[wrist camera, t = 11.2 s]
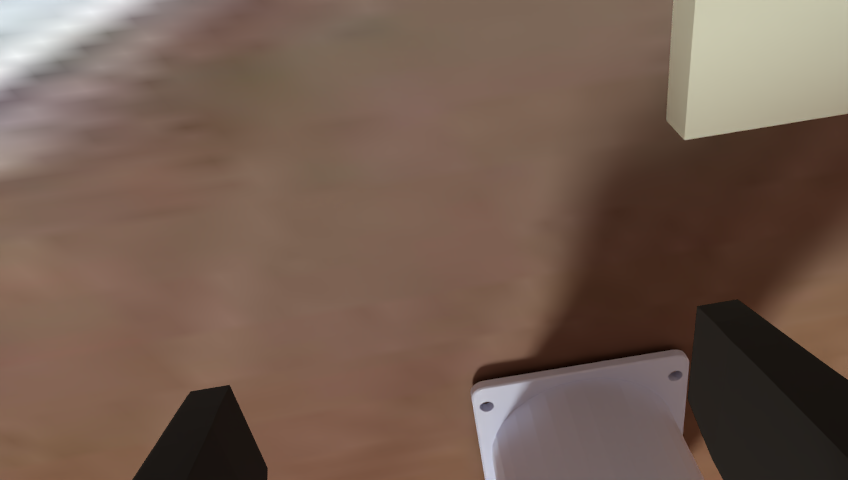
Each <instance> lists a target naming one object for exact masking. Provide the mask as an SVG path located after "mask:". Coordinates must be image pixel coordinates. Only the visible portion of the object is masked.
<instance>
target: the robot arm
mask: <svg viewBox="0 0 848 480" xmlns="http://www.w3.org/2000/svg"><path fill="white" fill-rule="evenodd" d="M674 371H675V372H674ZM672 372H674V373H672ZM688 372H689V359H688V358H687V356H686V354H685V353H684V352H683V351H681V350H668V351H662V352H656V353H650V354H643V355H637V356H631V357H625V358H619V359H613V360H607V361H601V362H595V363H588V364H582V365H576V366H570V367H564V368H558V369H552V370H546V371H540V372H534V373H527V374H521V375H515V376H509V377H503V378H497V379H491V380H485V381H480V382H478V383H476V384H475V385H473V387H472V388H471V397H472V403H473V409H474V415H475V422H476V428H477V434H478V440H479V446H480V452H481V458H482V464H483V470H484V476H485V480H704V478H703V476H702V474H701V472H700V470H699V468H698V466H697V464H696V462H695V460H694V458H693V456H692V454H691V452H690V450H689V448H688V446H687V444H686V442H685V439H684V437H683V428H684V417H685V406H686V394H687V383H688ZM688 401H689V403H690V406H691V408H692V411H693V413H694V416H695V418H696V421H697V423H698V426H699V429H700V431H701V434H702V436H703V438H704V441H705V443H706V445H707V448H708V450H709V453H710V455H711V457H712V460H713V462H714V463H715V465H716V467H717V469H718V471H719V473H720V475H721V476H722V478H723V480H848V380H847V379H846V378H844V377H843V376H842V375H840V374H839V373H837V372H836V371H835V370H833V369H832V368H830V367H829V366H828V365H826V364H825V363H823V362H822V361H821V360H819V359H818V358H817V357H815V356H814V355H812V354H811V353H810V352H808V351H807V350H806V349H804V348H803V347H801V346H800V345H799V344H797V343H796V342H795V341H793V340H792V339H791V338H789V337H788V336H787V335H785V334H784V333H782V332H781V331H780V330H778V329H777V328H776V327H774V326H773V325H772V324H770V323H769V322H768V321H766V320H765V319H764V318H762V317H761V316H760V315H758V314H757V313H756V312H754V311H753V310H751V309H750V308H749V307H747V306H746V305H745V304H743V303H742V302H740V301H739V300H738V299H737V300H731V301H725V302H719V303H713V304H708V305H702V306H697V313H696V323H695V333H694V342H693V352H692V362H691V371H690V381H689V391H688ZM484 402H489V403H486V404H482V403H484ZM132 480H267V466H266V464H265V462H264V459H263V457H262V455H261V453H260V451H259V448H258V446H257V444H256V442H255V440H254V438H253V435H252V433H251V431H250V429H249V427H248V424H247V422H246V420H245V418H244V416H243V413H242V411H241V409H240V407H239V405H238V403H237V400H236V398H235V396H234V394H233V392H232V389H231V387H230V385H227V386H221V387H215V388H209V389H203V390H197V391H191V392H190V393H189V395H188V396H187V397H186V399H185V400H184V402H183V403H182V405H181V406H180V408H179V409H178V411H177V412H176V414H175V415H174V417H173V418H172V420H171V422H170V423H169V425H168V426H167V428H166V429H165V431H164V432H163V434H162V435H161V437H160V438H159V440H158V442H157V443H156V445H155V446H154V448H153V449H152V451H151V452H150V454H149V455H148V457H147V458H146V460H145V461H144V463H143V464H142V466H141V467H140V469H139V471H138V472H137V474H136V475H135V477H134V478H133V479H132Z"/></svg>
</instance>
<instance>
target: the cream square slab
mask: <svg viewBox="0 0 848 480" xmlns="http://www.w3.org/2000/svg"><path fill="white" fill-rule="evenodd" d="M843 114H848V0H673V14H672V31H671V47H670V64H669V80H668V97H667V113H666V121H667V122H668V123H669V124H670V125H671V126H672V127H673V128H674V129H675V131H676V132H677V133H678V134H679V135H680V136H681V137H682V138H683V139H684V140H689V139H695V138H701V137H707V136H714V135H720V134H726V133H732V132H738V131H744V130H751V129H757V128H763V127H769V126H775V125H781V124H788V123H794V122H800V121H806V120H812V119H818V118H825V117H831V116H837V115H843Z"/></svg>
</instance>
